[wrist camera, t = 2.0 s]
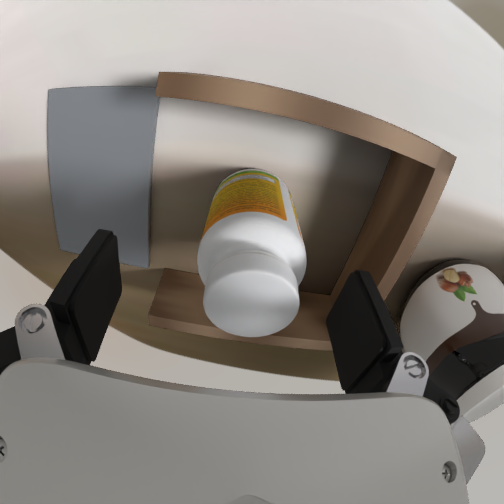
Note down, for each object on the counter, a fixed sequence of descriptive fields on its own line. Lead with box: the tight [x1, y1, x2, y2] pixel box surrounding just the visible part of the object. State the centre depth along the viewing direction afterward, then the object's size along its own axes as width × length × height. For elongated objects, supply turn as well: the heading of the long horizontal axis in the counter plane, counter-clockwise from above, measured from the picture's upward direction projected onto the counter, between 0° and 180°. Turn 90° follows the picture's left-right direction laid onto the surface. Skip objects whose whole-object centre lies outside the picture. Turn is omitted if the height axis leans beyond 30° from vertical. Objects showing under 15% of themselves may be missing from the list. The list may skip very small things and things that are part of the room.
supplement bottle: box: [197, 169, 307, 337], centre depth 13 cm, size 5×5×8 cm
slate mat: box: [47, 86, 160, 269], centre depth 16 cm, size 8×12×1 cm, turn 168°
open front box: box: [148, 72, 457, 351], centre depth 15 cm, size 13×14×4 cm
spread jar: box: [400, 260, 504, 423], centre depth 17 cm, size 12×11×12 cm
